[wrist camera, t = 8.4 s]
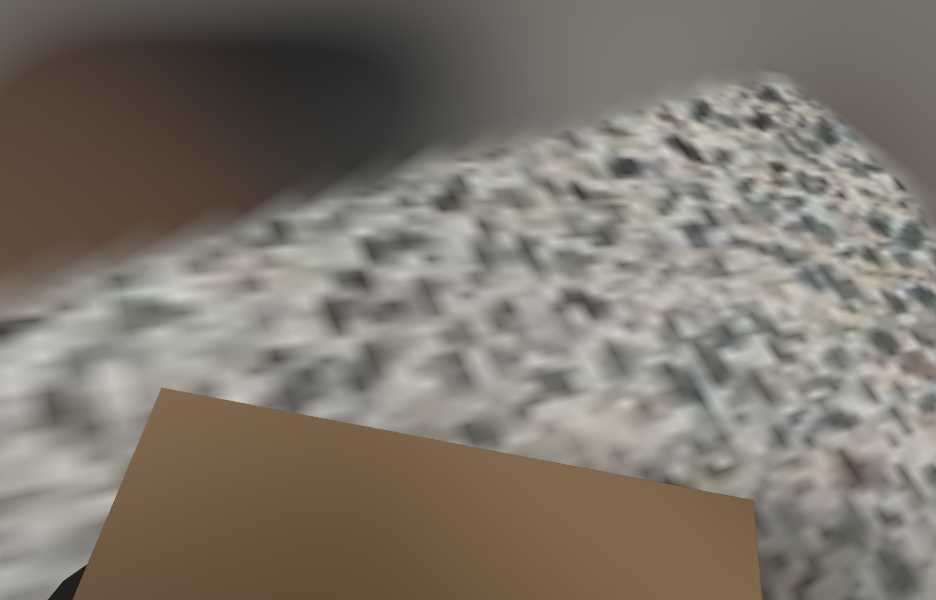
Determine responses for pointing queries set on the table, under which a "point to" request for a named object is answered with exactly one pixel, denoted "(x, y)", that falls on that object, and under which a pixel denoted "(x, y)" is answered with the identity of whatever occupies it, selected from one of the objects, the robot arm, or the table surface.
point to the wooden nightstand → (396, 519)
